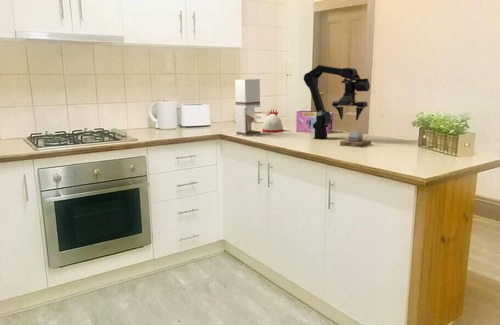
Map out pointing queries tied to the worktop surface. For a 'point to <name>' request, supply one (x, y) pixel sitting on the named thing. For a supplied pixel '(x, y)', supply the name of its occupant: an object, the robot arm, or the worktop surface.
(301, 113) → the gum box
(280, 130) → the white dome
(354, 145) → the walnut stand
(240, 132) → the coffee grinder
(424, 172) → the worktop surface
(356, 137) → the block
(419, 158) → the worktop surface
